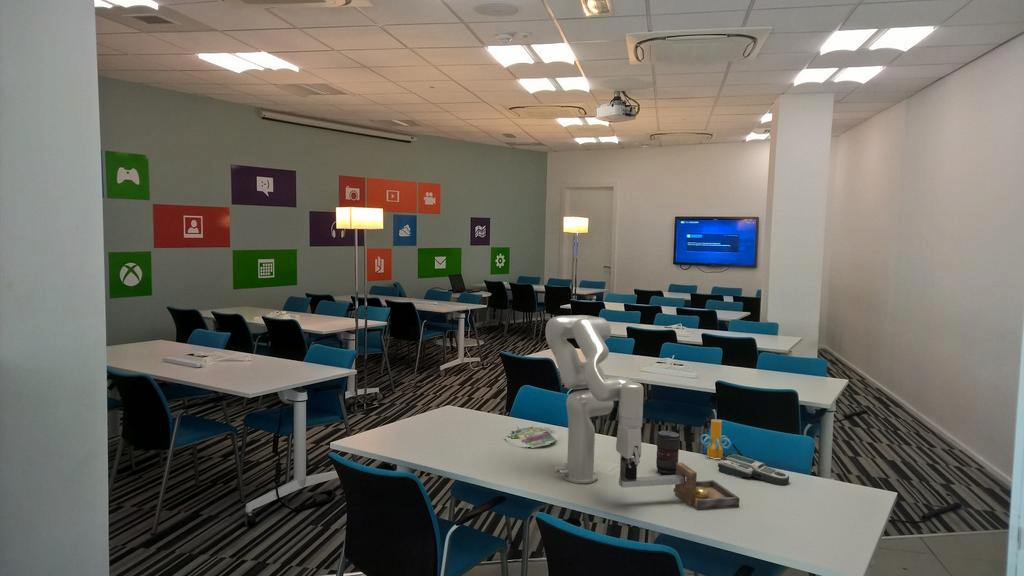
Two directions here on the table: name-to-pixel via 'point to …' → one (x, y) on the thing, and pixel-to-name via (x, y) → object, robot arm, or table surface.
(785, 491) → the table surface
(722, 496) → the guide frame
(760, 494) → the table surface
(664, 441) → the camera lens
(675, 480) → the grey sliding bolt
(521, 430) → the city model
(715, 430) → the orange vase with handles
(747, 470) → the communication device
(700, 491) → the gold dome
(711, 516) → the table surface
